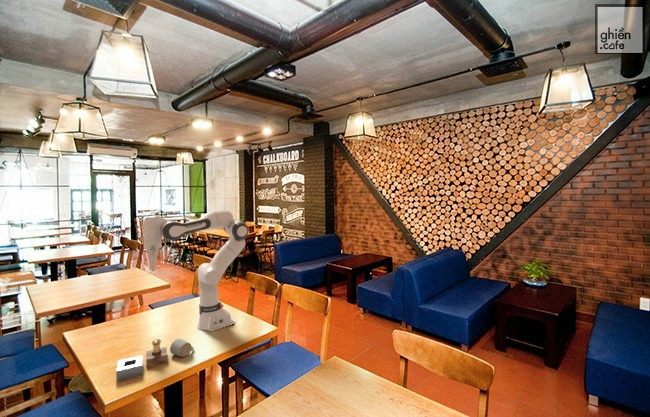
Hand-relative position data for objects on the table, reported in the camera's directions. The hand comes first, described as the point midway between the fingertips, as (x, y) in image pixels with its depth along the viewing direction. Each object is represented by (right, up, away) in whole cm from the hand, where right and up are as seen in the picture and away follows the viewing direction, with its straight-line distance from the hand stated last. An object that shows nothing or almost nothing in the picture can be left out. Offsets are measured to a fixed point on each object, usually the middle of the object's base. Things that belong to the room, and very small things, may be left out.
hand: (153, 269), depth 170 cm
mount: (+11, -43, -17) cm, 47 cm away
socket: (+5, -43, -28) cm, 52 cm away
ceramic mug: (+21, -43, -10) cm, 49 cm away
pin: (+11, -43, -17) cm, 47 cm away
